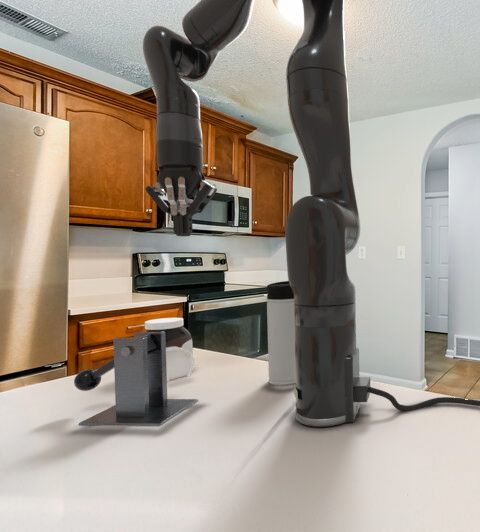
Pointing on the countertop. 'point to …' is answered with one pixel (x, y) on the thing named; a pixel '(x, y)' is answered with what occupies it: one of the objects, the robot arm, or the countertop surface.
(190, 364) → the spread jar
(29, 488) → the countertop surface
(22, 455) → the countertop surface
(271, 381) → the travel mug
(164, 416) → the bracket
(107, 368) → the tap lever
